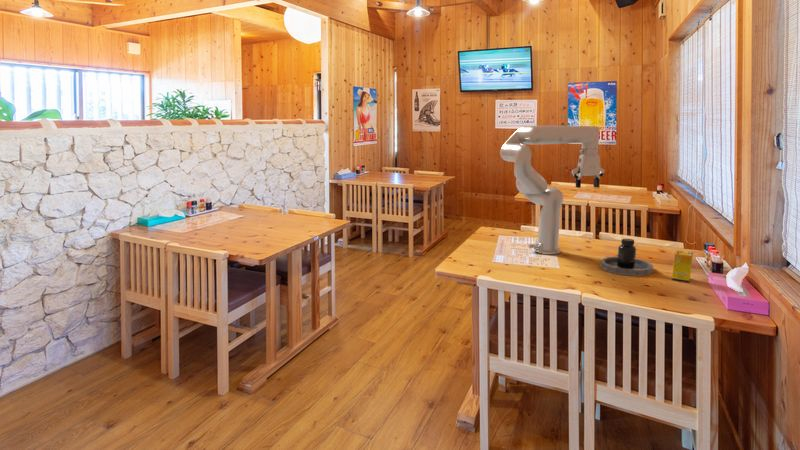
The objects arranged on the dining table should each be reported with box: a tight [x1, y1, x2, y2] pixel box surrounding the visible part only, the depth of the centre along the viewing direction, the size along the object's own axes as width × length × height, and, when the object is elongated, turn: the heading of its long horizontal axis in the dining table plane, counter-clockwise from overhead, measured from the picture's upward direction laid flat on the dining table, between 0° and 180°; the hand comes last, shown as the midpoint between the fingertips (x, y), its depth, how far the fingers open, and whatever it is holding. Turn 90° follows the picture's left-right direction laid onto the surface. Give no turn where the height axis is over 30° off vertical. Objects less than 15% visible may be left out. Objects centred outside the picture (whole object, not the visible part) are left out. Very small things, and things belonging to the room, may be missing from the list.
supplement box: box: [671, 250, 694, 284], centre depth 182 cm, size 6×6×11 cm
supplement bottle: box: [617, 238, 637, 269], centre depth 196 cm, size 7×7×12 cm
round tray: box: [599, 256, 654, 277], centre depth 197 cm, size 20×20×2 cm
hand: (587, 187), depth 228 cm, fingers open, 9 cm apart
